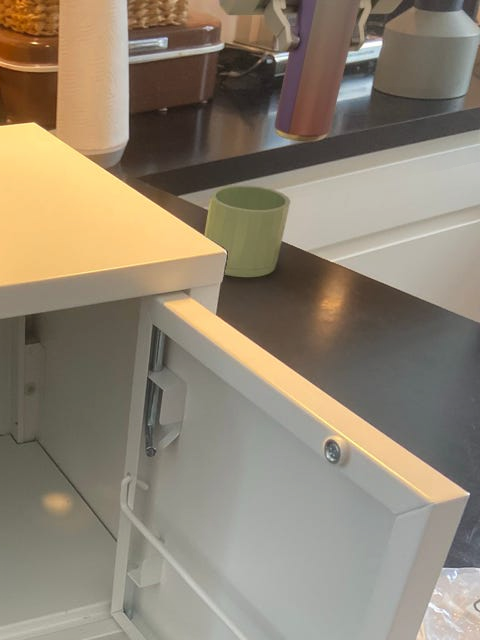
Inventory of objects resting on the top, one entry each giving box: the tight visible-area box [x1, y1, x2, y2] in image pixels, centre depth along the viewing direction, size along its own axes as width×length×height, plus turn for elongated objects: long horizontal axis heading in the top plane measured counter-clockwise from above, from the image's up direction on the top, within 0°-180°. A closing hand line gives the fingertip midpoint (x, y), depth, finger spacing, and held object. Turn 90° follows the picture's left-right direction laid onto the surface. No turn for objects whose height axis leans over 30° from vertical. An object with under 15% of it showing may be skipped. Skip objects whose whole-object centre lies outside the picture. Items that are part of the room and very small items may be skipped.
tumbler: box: [203, 184, 291, 278], centre depth 120 cm, size 10×10×8 cm
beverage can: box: [273, 0, 361, 143], centre depth 99 cm, size 6×6×15 cm
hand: (322, 48), depth 98 cm, fingers closed on beverage can, 6 cm apart
